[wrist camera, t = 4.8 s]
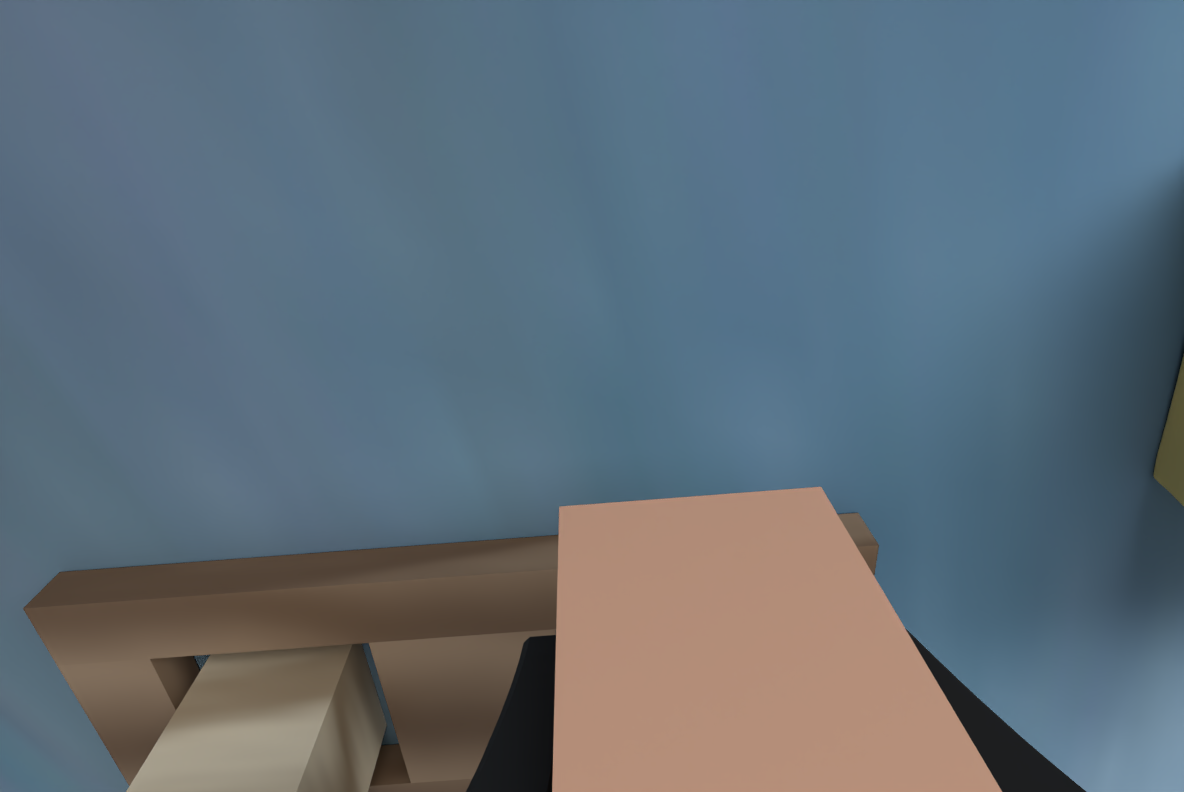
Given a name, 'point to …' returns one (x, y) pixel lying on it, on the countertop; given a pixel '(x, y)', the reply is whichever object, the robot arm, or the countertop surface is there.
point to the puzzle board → (320, 637)
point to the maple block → (272, 725)
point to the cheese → (1173, 445)
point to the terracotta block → (739, 656)
